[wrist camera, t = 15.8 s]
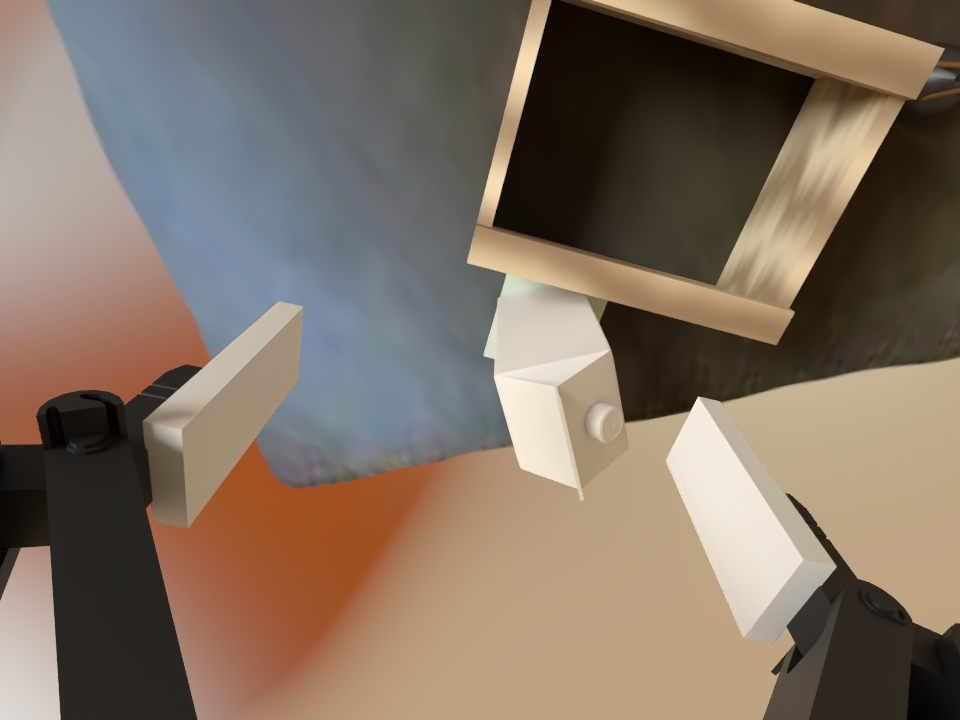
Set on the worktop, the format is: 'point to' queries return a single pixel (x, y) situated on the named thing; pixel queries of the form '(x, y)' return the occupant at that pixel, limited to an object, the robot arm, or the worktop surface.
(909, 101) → the wooden tabletop sculpture
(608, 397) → the milk carton
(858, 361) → the worktop surface
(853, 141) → the crate
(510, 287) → the place mat
